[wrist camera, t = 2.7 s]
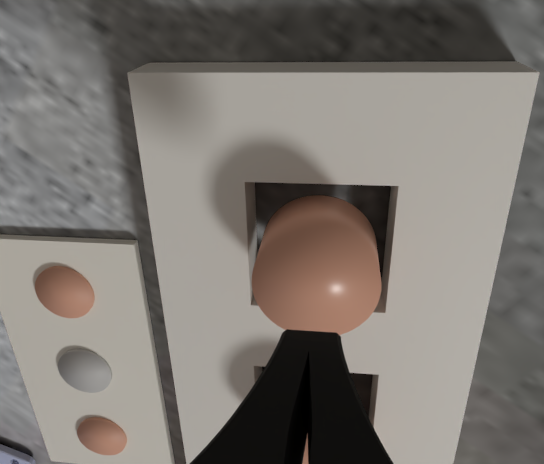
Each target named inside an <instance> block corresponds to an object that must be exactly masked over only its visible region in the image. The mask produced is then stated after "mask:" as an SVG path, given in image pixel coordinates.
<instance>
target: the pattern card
mask: <svg viewBox="0 0 544 464" xmlns="http://www.w3.org/2000/svg"><path fill="white" fill-rule="evenodd" d="M0 312H1V315H2V318H3V321H4V324H5V327H6V330H7V333H8V336H9V339H10V342H11V345H12V348H13V351H14V354H15V356H16V359H17V362H18V365H19V368H20V371H21V374H22V377H23V380H24V383H25V386H26V389H27V392H28V395H29V398H30V401H31V404H32V407H33V410H34V413H35V415H36V418H37V421H38V424H39V427H40V430H41V433H42V436H43V439H44V442H45V445H46V448H47V451H48V454H49V457H50V460H51V461H56V462H66V463H76V464H175V461H174V455H173V449H172V443H171V437H170V431H169V425H168V419H167V413H166V407H165V401H164V395H163V389H162V383H161V377H160V371H159V365H158V359H157V353H156V347H155V341H154V335H153V329H152V323H151V317H150V311H149V305H148V299H147V293H146V287H145V282H144V276H143V270H142V264H141V258H140V252H139V246H138V240H122V239H99V238H75V237H51V236H28V235H4V234H0Z"/></svg>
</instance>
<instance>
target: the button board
mask: <svg viewBox="0 0 544 464" xmlns="http://www.w3.org/2000/svg"><path fill="white" fill-rule="evenodd" d="M127 75H128V82H129V88H130V95H131V102H132V108H133V115H134V121H135V128H136V135H137V141H138V148H139V154H140V161H141V168H142V174H143V181H144V187H145V194H146V201H147V207H148V214H149V220H150V227H151V234H152V240H153V247H154V253H155V260H156V267H157V273H158V280H159V286H160V293H161V300H162V306H163V313H164V319H165V326H166V333H167V339H168V346H169V353H170V359H171V366H172V372H173V379H174V386H175V392H176V399H177V405H178V412H179V419H180V425H181V432H182V438H183V445H184V452H185V458H186V464H190V463H191V462H192V461H193V460H194V459H195V457H196V456H197V455H198V454H199V453H200V452H201V451H202V450H203V449H204V448H205V447H206V446H207V445H208V444H209V443H210V441H211V440H212V439H213V438H214V437H215V436H216V435H217V433H218V432H219V431H220V430H221V429H222V427H223V426H224V425H225V424H226V422H227V421H228V420H229V419H230V417H231V416H232V415H233V414H234V412H235V411H236V409H237V408H238V407H239V405H240V404H241V403H242V401H243V400H244V398H245V397H246V396H247V394H248V393H249V392H250V390H251V389H252V387H253V385H254V384H255V382H256V381H257V379H258V378H259V376H260V374H261V373H262V366H264V367H265V366H266V365H267V363H268V361H269V359H270V358H271V356H272V354H273V352H274V350H275V348H276V346H277V344H278V342H279V340H280V337H281V334H282V333H283V332H284V331H285V330H284V329H283V328H281V327H279V326H277V325H276V324H275V323H273V322H272V321H271V320H270V319H269V318H268V317H267V316H266V315H265V314H264V313H263V312H262V310H261V309H260V307H259V306H258V304H257V302H256V300H255V297H254V294H253V291H252V272H253V268H254V264H255V261H256V258H257V255H258V249H257V224H256V199H255V182H265V183H303V184H341V185H378V186H391V190H390V200H389V211H388V221H387V231H386V242H385V252H384V263H383V273H382V283H381V295H380V299H379V302H378V304H377V306H376V308H375V310H374V311H373V313H372V314H371V316H370V317H369V318H368V319H367V320H366V321H365V322H364V323H362V324H361V325H360V326H358V327H357V328H355V329H353V330H351V331H349V332H347V333H344V334H341V335H340V336H341V343H342V348H343V352H344V356H345V360H346V363H347V366H348V369H349V372H350V373H361V374H373V377H372V387H371V397H370V408H369V420H370V422H371V424H372V426H373V428H374V430H375V432H376V433H377V435H378V437H379V439H380V441H381V443H382V445H383V446H384V448H385V450H386V452H387V453H388V455H389V457H390V458H391V460H392V462H393V464H453V462H454V458H455V453H456V449H457V444H458V440H459V435H460V431H461V426H462V421H463V417H464V412H465V408H466V403H467V399H468V394H469V390H470V385H471V381H472V376H473V372H474V367H475V363H476V358H477V353H478V349H479V344H480V340H481V335H482V331H483V326H484V322H485V317H486V313H487V308H488V304H489V299H490V294H491V290H492V285H493V281H494V276H495V272H496V267H497V263H498V258H499V254H500V249H501V245H502V240H503V236H504V231H505V226H506V222H507V217H508V213H509V208H510V204H511V199H512V195H513V190H514V186H515V181H516V177H517V172H518V167H519V163H520V158H521V154H522V149H523V145H524V140H525V136H526V131H527V127H528V122H529V118H530V113H531V109H532V104H533V99H534V95H535V90H536V86H537V81H538V77H539V72H538V71H535V70H533V69H531V68H529V67H527V66H525V65H523V64H521V63H519V62H517V61H487V62H174V63H147V64H145V65H143V66H141V67H139V68H136V69H134V70H132V71H130V72H128V73H127Z"/></svg>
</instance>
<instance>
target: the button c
mask: <svg viewBox="0 0 544 464" xmlns="http://www.w3.org/2000/svg"><path fill="white" fill-rule="evenodd" d="M252 291H253V294H254V297H255V300H256V302H257V304H258V306H259V307H260V309H261V310H262V312H263V313H264V314H265V315H266V316H267V317H268V318H269V319H270V320H271V321H272V322H273V323H275V324H276V325H277V326H279V327H281V328H283V329H284V330H287V329H289V330H304V331H320V332H335V333H338V334H339V335H341V334H344V333H347V332H349V331H351V330H353V329H355V328H357V327H358V326H360V325H361V324H362V323H364V322H365V321H366V320H367V319H368V318H369V317H370V316H371V314H372V313H373V311H374V310H375V308H376V306H377V304H378V302H379V299H380V295H381V275H380V267H379V260H378V252H377V244H376V237H375V233H374V230H373V228H372V226H371V224H370V222H369V221H368V219H367V218H366V217H365V215H364V214H363V213H362V212H361V211H360V210H358V209H357V208H356V207H355V206H353V205H352V204H350V203H348V202H346V201H344V200H342V199H339V198H336V197H331V196H324V195H311V196H305V197H301V198H298V199H295V200H293V201H290V202H289V203H287V204H285V205H284V206H282V207H281V208H280V209H279V210H278V211H277V212H276V213H275V214H274V215H273V216H272V217H271V219H270V220H269V222H268V224H267V226H266V229H265V231H264V235H263V238H262V241H261V245H260V248H259V251H258V255H257V258H256V261H255V264H254V268H253V272H252Z"/></svg>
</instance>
